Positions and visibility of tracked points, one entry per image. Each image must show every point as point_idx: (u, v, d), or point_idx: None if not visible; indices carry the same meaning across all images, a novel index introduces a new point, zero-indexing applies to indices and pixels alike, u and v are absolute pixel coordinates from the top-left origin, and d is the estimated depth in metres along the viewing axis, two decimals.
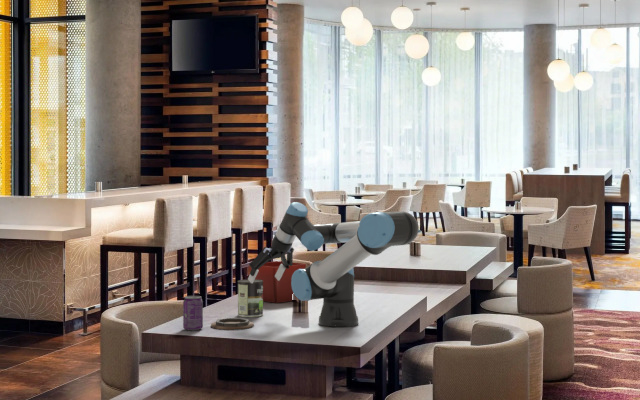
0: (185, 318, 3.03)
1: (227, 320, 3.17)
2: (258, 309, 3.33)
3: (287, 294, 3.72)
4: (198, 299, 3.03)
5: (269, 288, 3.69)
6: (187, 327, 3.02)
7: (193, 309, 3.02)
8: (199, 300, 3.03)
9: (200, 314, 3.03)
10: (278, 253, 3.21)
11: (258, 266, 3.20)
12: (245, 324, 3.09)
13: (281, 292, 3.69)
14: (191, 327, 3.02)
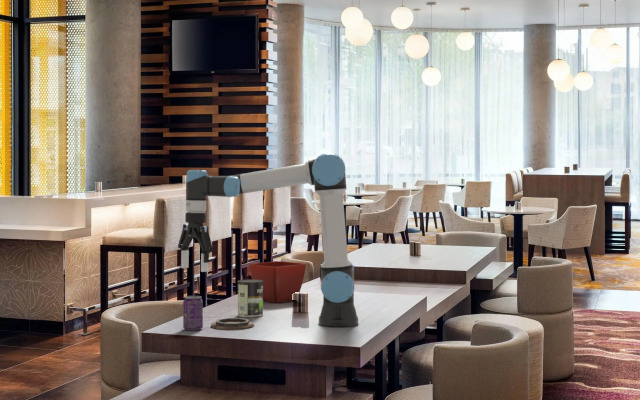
0: (185, 318, 3.03)
1: (227, 320, 3.17)
2: (258, 309, 3.33)
3: (287, 294, 3.72)
4: (198, 299, 3.03)
5: (269, 288, 3.69)
6: (187, 327, 3.02)
7: (193, 309, 3.02)
8: (199, 300, 3.03)
9: (200, 314, 3.03)
10: None
11: (208, 248, 3.01)
12: (245, 324, 3.09)
13: (281, 292, 3.69)
14: (191, 327, 3.02)
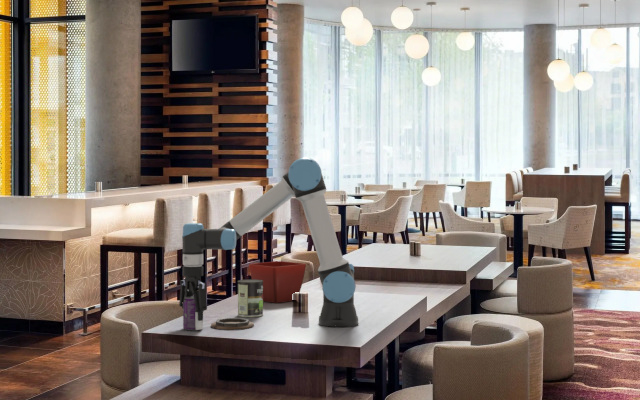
0: (185, 318, 3.03)
1: (227, 320, 3.17)
2: (258, 309, 3.33)
3: (287, 294, 3.72)
4: None
5: (269, 288, 3.69)
6: (187, 327, 3.02)
7: (193, 309, 3.02)
8: None
9: None
10: None
11: None
12: (245, 324, 3.09)
13: (281, 292, 3.69)
14: (191, 327, 3.02)
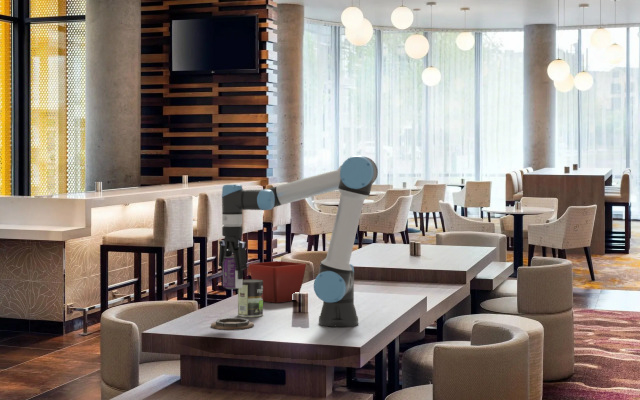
0: (225, 277, 3.09)
1: (227, 320, 3.17)
2: (258, 309, 3.33)
3: (287, 294, 3.72)
4: None
5: (269, 288, 3.69)
6: (227, 285, 3.09)
7: (233, 268, 3.08)
8: None
9: None
10: None
11: None
12: (245, 324, 3.09)
13: (281, 292, 3.69)
14: (231, 285, 3.08)
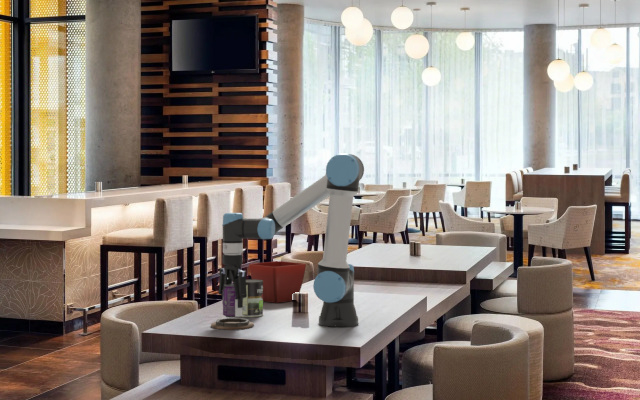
0: (225, 305, 3.10)
1: (227, 320, 3.17)
2: (258, 309, 3.33)
3: (287, 294, 3.72)
4: None
5: (269, 288, 3.69)
6: (227, 314, 3.09)
7: (233, 296, 3.09)
8: None
9: None
10: None
11: None
12: (245, 324, 3.09)
13: (281, 292, 3.69)
14: (231, 314, 3.09)
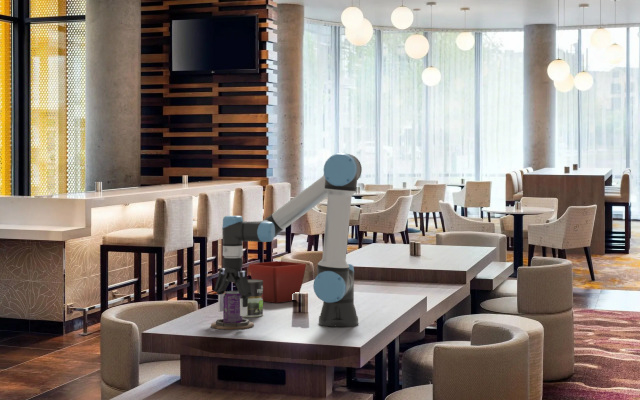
0: (225, 313, 3.10)
1: None
2: (258, 309, 3.33)
3: (287, 294, 3.72)
4: (238, 294, 3.10)
5: (269, 288, 3.69)
6: (227, 321, 3.09)
7: (234, 304, 3.09)
8: (239, 295, 3.10)
9: None
10: None
11: (247, 292, 3.07)
12: (245, 324, 3.09)
13: (281, 292, 3.69)
14: (231, 321, 3.09)
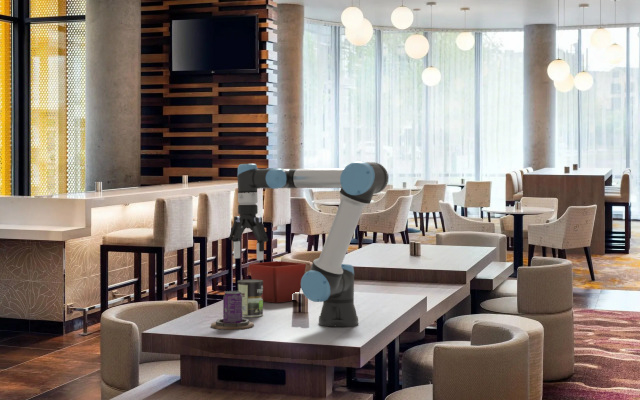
0: (225, 313, 3.10)
1: None
2: (258, 309, 3.33)
3: (287, 294, 3.72)
4: (238, 294, 3.10)
5: (269, 288, 3.69)
6: (227, 321, 3.09)
7: (234, 304, 3.09)
8: (239, 295, 3.10)
9: (240, 309, 3.10)
10: None
11: None
12: (245, 324, 3.09)
13: (281, 292, 3.69)
14: (231, 321, 3.09)
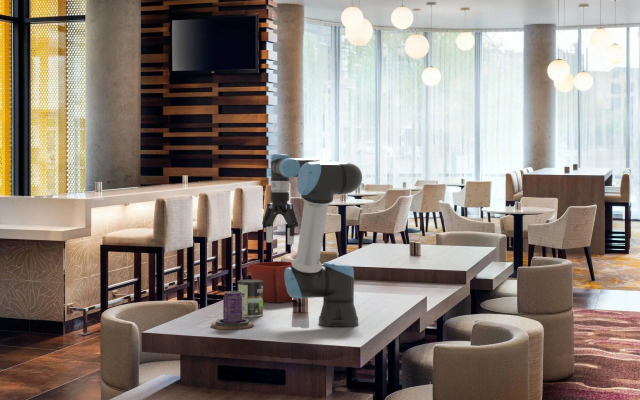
0: (225, 313, 3.10)
1: None
2: (258, 309, 3.33)
3: (287, 294, 3.72)
4: (238, 294, 3.10)
5: (269, 288, 3.69)
6: (227, 321, 3.09)
7: (234, 304, 3.09)
8: (239, 295, 3.10)
9: (240, 309, 3.10)
10: None
11: None
12: (245, 324, 3.09)
13: (281, 292, 3.69)
14: (231, 321, 3.09)
